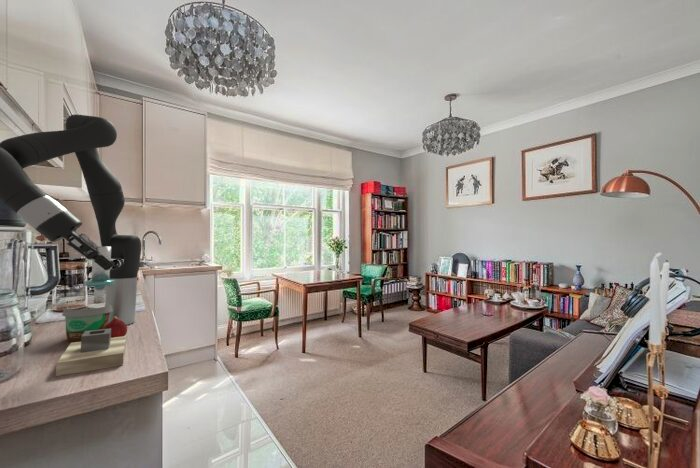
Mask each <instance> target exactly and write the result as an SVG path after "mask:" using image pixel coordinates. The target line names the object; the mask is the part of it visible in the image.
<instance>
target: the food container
mask: <svg viewBox="0 0 700 468" xmlns="http://www.w3.org/2000/svg"><path fill="white" fill-rule="evenodd" d="M112 311H113V310H112V307H111V305H109V306H106V307H105V306H102V307H85V308H84V307H83V308H77V309H75V308H74V309H68V308H67V306H66V307H64V309H63V311H62V314H61V315H62V317H64V320H65V334H66V335H65V336H66V342H67V343H74V342H81V337H82V335H83V333H84V332H85V331H91V330H100V329H104V327H105V326H106V325H107V324H108V320H109V315H110V312H112Z"/></svg>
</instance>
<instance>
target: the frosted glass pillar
mask: <svg viewBox="0 0 700 468" xmlns="http://www.w3.org/2000/svg"><path fill="white" fill-rule="evenodd" d="M96 249H97V250H98V251H99V252H101V254H102V255H103V256H104V257H106V258H107V259H108V260H109V261H111V260H112V259H111V247H103V246H100V245H99V246H98V245H97V246H96ZM102 255H101V256H102ZM94 261H95V260H94ZM94 261H92V265H91V266H92V267H91V279H90V280H89V279H87V280H85V281H84V286H85V287H93V288H94V289H93V291H94V292H93V304H97V305H98V304H105V296H106V285H113V284H115V280H112V279H109V277H110V269H111V268H110V269H109V270H104V269H103V268H102V267H101V266H99V265H98V264H97V263H96V262H94Z"/></svg>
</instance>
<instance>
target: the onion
mask: <svg viewBox="0 0 700 468" xmlns="http://www.w3.org/2000/svg"><path fill="white" fill-rule="evenodd" d="M109 328H111V338H115V337H123V336H126V335H127V333H128V326H127V325H126V324H125V323H124V322H123V321H122V320H120V319H118V318H117V317H116V316H115V317H114V319H113V320H112V321H111V322H109V323H108V324H107V325H106V326H105V327H104V329H109Z"/></svg>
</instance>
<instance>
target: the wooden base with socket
mask: <svg viewBox="0 0 700 468" xmlns="http://www.w3.org/2000/svg"><path fill="white" fill-rule="evenodd" d="M126 345H127V336H126V335H125V336H123V337H115V338H111V328H109V329H100V330H91V331H85V332H84V333H83V335H82V337H81V342H74V343H73V342H69V345H68V347H67V348H66V349H65V351H64V352H63V353H62V354H61V357H60V358H59V359H58V361H57V362H56V368H55V369H56V371H55V377H58V376H59V377H60V376H66V375H71V374H73V375H74V374H78V373H84V372H85V373H86V372H89V371H90V372H91V371H96V370H101V369H108V368H114V367H118V366H121V367H122V366H124V360H125V359H124V358H125V353H126Z"/></svg>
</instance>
